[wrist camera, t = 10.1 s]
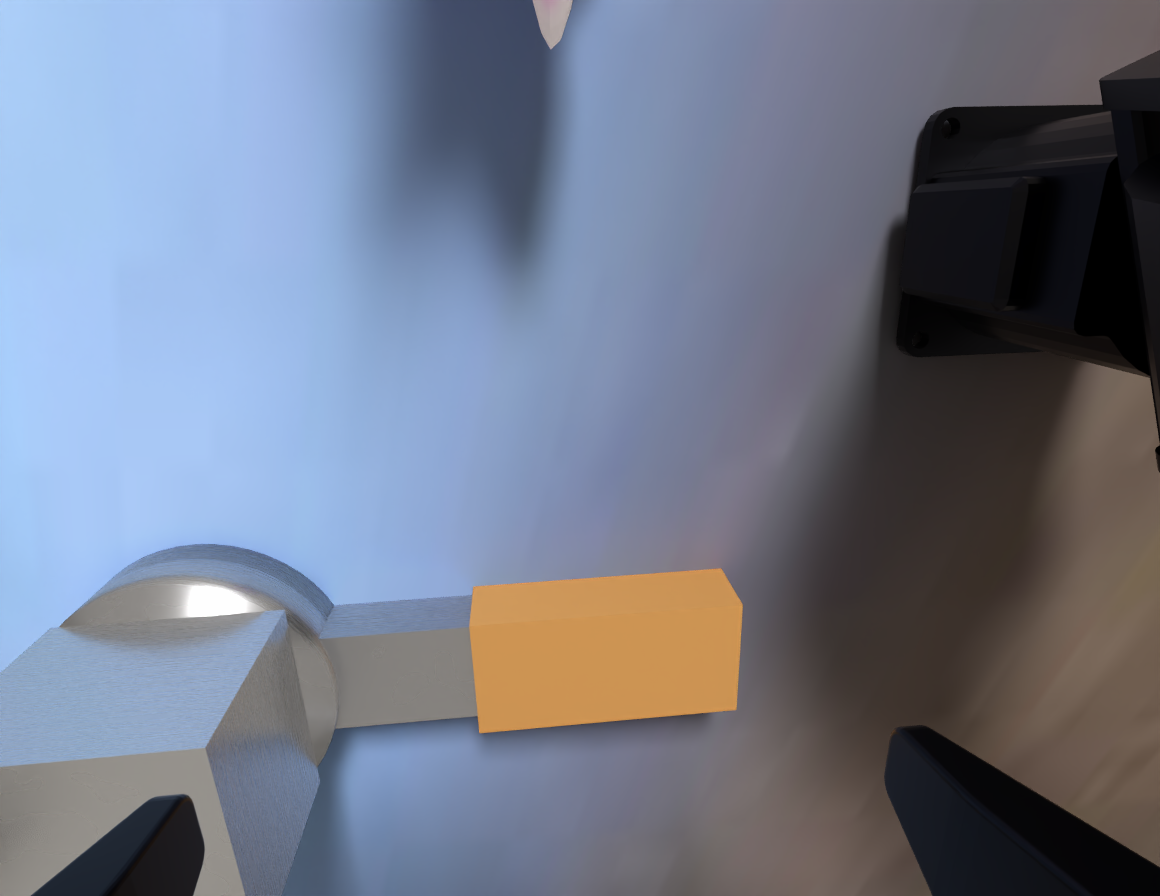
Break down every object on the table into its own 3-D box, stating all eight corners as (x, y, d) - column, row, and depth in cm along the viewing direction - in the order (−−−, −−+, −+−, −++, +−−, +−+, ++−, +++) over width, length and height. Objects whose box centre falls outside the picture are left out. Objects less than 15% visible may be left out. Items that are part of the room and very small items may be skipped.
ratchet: (723, 509, 21) (790, 602, 16) (713, 715, 24) (768, 850, 19) (52, 553, 19) (-110, 672, 14) (122, 769, 22) (5, 933, 17)
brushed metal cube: (284, 609, 18) (204, 747, 13) (320, 782, 20) (261, 954, 15) (50, 628, 18) (-118, 777, 13) (110, 802, 20) (-17, 987, 15)
